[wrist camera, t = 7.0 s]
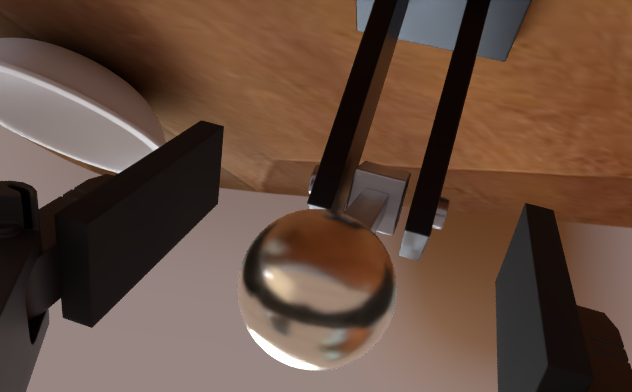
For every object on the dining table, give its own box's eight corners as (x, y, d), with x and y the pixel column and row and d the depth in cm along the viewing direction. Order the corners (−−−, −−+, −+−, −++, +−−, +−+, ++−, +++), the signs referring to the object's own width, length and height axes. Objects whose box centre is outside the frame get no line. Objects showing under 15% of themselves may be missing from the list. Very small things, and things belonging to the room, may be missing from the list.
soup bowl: (-95, -52, 44) (-140, 16, 42) (192, 53, 45) (161, 123, 43) (15, 83, 66) (-10, 130, 65) (203, 149, 68) (183, 197, 66)
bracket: (359, -150, 23) (242, 159, 19) (577, -117, 22) (502, 227, 17) (361, 15, 34) (286, 238, 29) (509, 45, 32) (452, 286, 28)
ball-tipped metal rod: (228, 207, 11) (197, 370, 11) (410, 258, 10) (363, 427, 11) (353, 144, 25) (335, 217, 26) (430, 163, 25) (409, 237, 25)
